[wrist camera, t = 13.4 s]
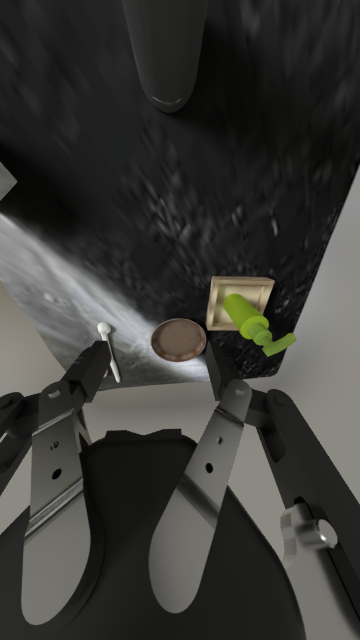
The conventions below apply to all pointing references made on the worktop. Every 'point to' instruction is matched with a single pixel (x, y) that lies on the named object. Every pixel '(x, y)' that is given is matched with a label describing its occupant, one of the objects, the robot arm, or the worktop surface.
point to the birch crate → (247, 287)
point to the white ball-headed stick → (104, 330)
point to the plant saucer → (178, 340)
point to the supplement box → (5, 181)
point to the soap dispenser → (254, 324)
